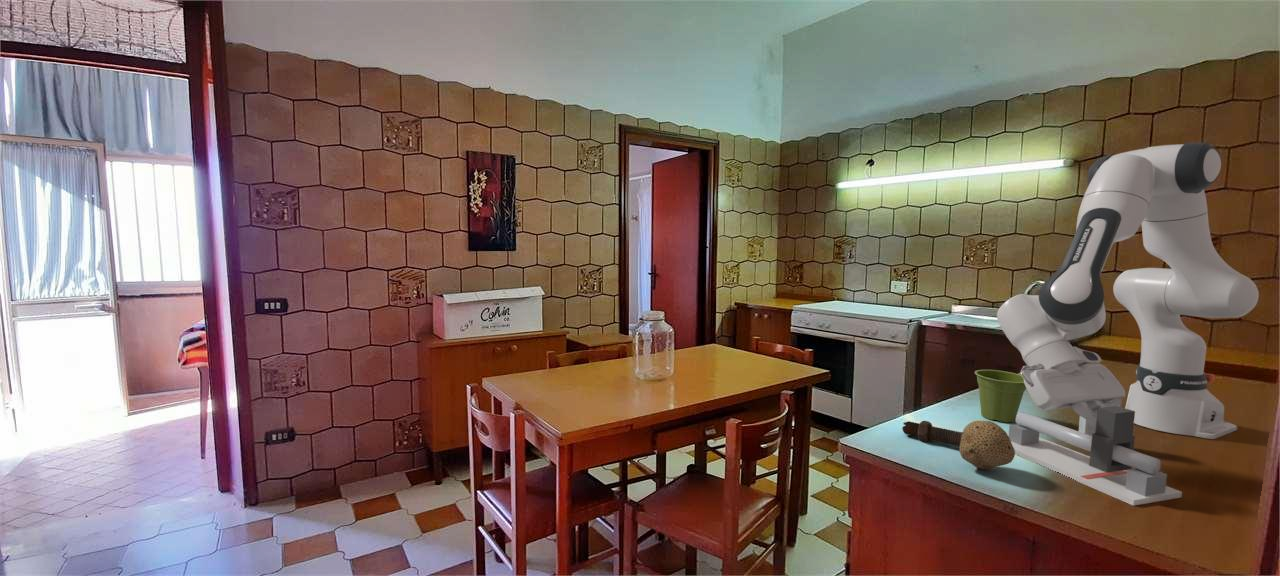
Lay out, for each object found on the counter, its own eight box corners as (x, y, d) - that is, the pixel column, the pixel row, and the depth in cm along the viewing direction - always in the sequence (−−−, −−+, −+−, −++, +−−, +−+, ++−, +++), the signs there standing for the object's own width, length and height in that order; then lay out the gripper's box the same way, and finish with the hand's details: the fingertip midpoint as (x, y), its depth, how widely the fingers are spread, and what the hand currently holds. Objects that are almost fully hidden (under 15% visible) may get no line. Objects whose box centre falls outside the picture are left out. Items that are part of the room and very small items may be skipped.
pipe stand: (993, 444, 117) (996, 411, 116) (1034, 439, 120) (1037, 407, 119) (1133, 505, 91) (1137, 463, 90) (1181, 497, 94) (1186, 455, 94)
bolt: (904, 441, 124) (978, 459, 113) (898, 436, 120) (974, 454, 110) (909, 418, 125) (982, 433, 115) (903, 412, 122) (978, 427, 112)
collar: (1089, 465, 101) (1095, 408, 99) (1113, 462, 102) (1119, 405, 101) (1106, 472, 98) (1112, 413, 97) (1131, 468, 99) (1137, 410, 98)
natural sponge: (1021, 473, 103) (1025, 424, 102) (999, 484, 99) (1003, 433, 98) (972, 456, 111) (975, 411, 110) (949, 466, 106) (953, 419, 105)
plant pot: (1011, 429, 127) (1015, 384, 125) (961, 414, 137) (965, 372, 136) (1036, 421, 132) (1040, 378, 131) (986, 407, 143) (989, 367, 141)
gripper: (1027, 358, 105) (1074, 422, 96) (1103, 353, 110) (1153, 413, 101) (1005, 374, 109) (1047, 436, 101) (1078, 368, 115) (1125, 427, 106)
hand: (1101, 425), depth 101 cm, fingers closed, pressing on collar
